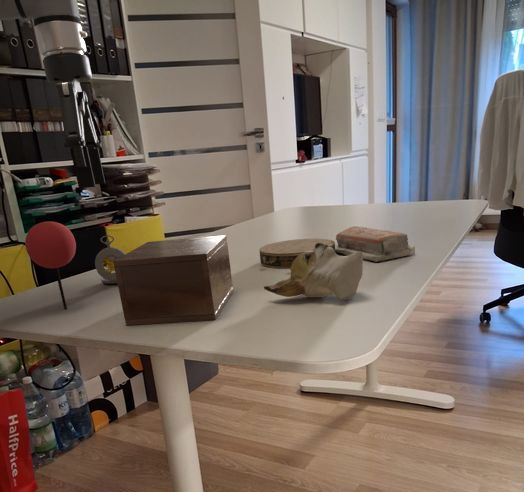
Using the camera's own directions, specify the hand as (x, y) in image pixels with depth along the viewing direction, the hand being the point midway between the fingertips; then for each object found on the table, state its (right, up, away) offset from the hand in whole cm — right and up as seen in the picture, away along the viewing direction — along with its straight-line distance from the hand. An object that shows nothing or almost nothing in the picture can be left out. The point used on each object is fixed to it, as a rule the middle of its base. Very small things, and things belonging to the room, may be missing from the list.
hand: (93, 186), depth 96 cm
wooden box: (+18, -23, -12) cm, 32 cm away
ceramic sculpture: (+40, -22, -14) cm, 48 cm away
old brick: (+54, -10, +14) cm, 56 cm away
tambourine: (+39, -11, +15) cm, 43 cm away
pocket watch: (+1, -16, +12) cm, 20 cm away
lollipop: (-3, -23, -4) cm, 24 cm away
